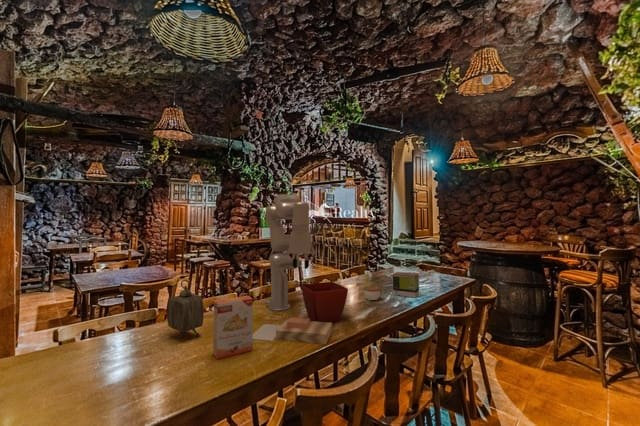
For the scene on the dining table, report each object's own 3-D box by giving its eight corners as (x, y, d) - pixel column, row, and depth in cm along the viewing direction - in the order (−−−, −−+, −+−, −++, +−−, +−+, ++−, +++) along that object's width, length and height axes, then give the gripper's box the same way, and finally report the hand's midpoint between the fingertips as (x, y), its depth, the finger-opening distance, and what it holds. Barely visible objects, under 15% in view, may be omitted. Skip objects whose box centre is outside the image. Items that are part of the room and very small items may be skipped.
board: (276, 339, 129) (276, 330, 129) (286, 327, 142) (286, 319, 142) (326, 344, 124) (326, 334, 124) (331, 331, 138) (331, 322, 138)
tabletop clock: (203, 336, 132) (203, 280, 132) (184, 343, 125) (184, 283, 125) (184, 329, 140) (185, 276, 141) (165, 336, 133) (166, 279, 133)
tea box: (419, 295, 201) (419, 273, 202) (415, 298, 193) (415, 275, 193) (397, 292, 209) (397, 271, 210) (392, 295, 201) (392, 273, 201)
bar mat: (248, 339, 129) (248, 338, 129) (264, 324, 147) (264, 323, 147) (272, 341, 127) (272, 340, 127) (285, 326, 145) (285, 325, 145)
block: (286, 327, 132) (286, 321, 132) (290, 322, 138) (290, 317, 138) (306, 329, 130) (306, 323, 130) (309, 324, 136) (309, 318, 136)
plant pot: (332, 311, 167) (332, 281, 168) (348, 322, 150) (348, 288, 150) (300, 315, 160) (300, 284, 160) (313, 327, 142) (313, 292, 143)
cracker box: (216, 360, 110) (217, 303, 110) (213, 354, 115) (213, 299, 116) (253, 351, 118) (253, 298, 118) (248, 345, 123) (248, 294, 123)
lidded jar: (362, 301, 187) (362, 286, 187) (364, 297, 197) (364, 282, 197) (379, 302, 183) (379, 287, 184) (381, 298, 194) (381, 283, 194)
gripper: (280, 229, 136) (280, 268, 136) (316, 229, 133) (316, 270, 133) (286, 228, 144) (286, 266, 144) (320, 228, 140) (320, 267, 140)
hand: (300, 267), depth 138 cm, fingers open, 4 cm apart
